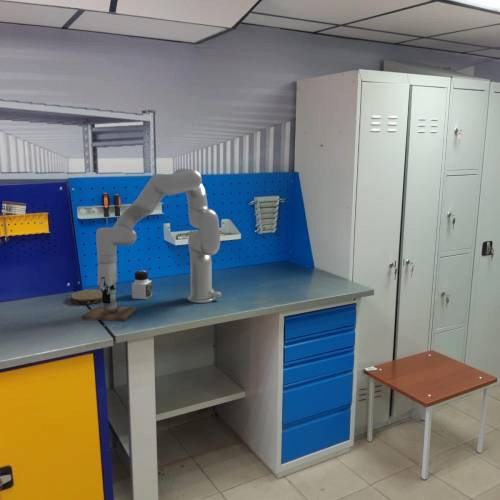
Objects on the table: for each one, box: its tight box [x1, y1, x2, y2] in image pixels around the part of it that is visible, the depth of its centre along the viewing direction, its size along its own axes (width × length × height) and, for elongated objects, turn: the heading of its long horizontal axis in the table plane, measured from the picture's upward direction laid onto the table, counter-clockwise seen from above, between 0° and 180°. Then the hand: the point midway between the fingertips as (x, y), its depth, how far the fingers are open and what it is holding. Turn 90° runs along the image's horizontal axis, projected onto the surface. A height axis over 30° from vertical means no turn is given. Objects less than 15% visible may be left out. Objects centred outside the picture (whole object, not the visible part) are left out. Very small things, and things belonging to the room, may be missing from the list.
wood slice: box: [70, 288, 102, 306], centre depth 233 cm, size 16×16×3 cm
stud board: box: [81, 300, 138, 322], centre depth 213 cm, size 18×14×5 cm
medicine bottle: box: [130, 270, 153, 300], centre depth 237 cm, size 7×7×12 cm
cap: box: [104, 288, 117, 304], centre depth 212 cm, size 5×5×5 cm
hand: (109, 300), depth 212 cm, fingers closed on cap, 5 cm apart
